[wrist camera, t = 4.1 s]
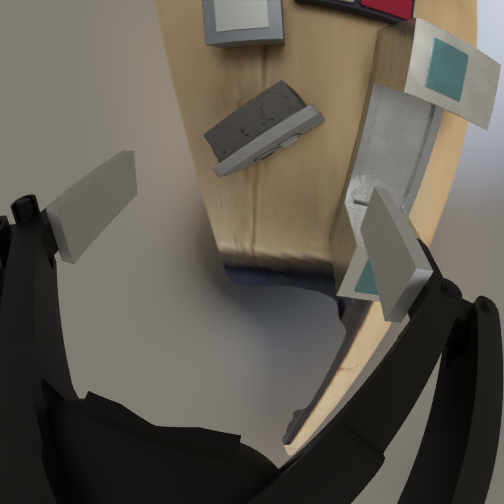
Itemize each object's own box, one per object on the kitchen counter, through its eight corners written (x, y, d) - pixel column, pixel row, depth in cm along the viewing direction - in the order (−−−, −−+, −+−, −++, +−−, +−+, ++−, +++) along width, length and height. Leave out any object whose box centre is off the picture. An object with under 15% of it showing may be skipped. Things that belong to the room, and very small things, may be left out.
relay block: (223, 48, 22) (205, 44, 17) (219, 5, 19) (200, -8, 14) (285, 44, 21) (283, 38, 16) (281, 0, 18) (278, -16, 13)
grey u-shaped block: (329, 237, 34) (336, 296, 26) (378, 29, 18) (417, 17, 11) (386, 248, 34) (406, 306, 26) (446, 58, 18) (502, 65, 10)
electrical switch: (251, 165, 30) (228, 196, 22) (223, 127, 28) (189, 145, 20) (325, 120, 26) (333, 133, 18) (296, 78, 24) (291, 72, 16)
